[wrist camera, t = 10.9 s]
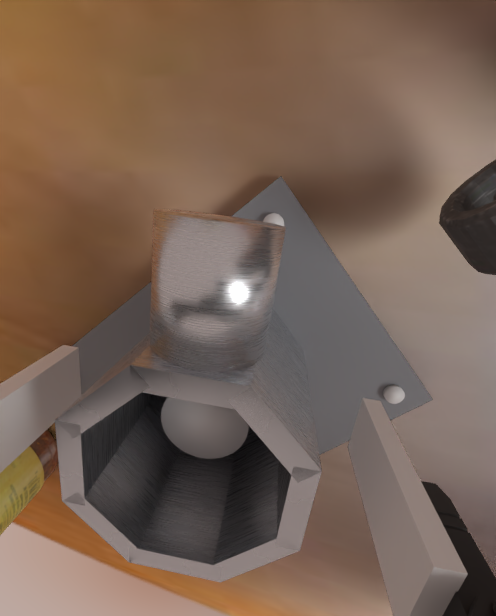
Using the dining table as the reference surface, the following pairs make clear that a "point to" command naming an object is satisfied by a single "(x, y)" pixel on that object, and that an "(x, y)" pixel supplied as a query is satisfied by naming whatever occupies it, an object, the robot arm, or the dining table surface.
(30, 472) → the sauce bottle
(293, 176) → the dining table surface
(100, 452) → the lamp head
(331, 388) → the grey peg base plate
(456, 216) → the tankard
